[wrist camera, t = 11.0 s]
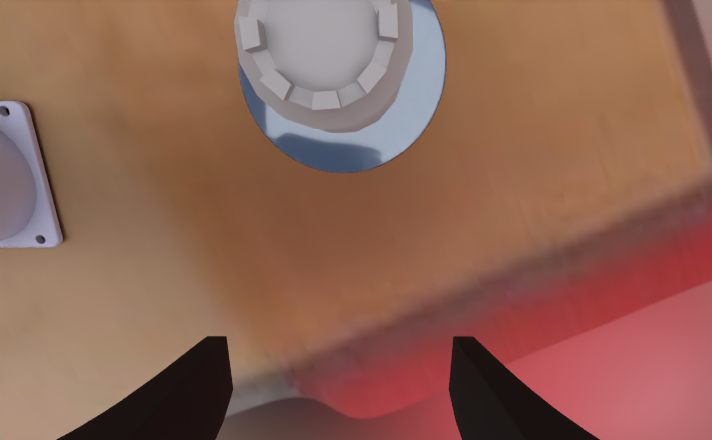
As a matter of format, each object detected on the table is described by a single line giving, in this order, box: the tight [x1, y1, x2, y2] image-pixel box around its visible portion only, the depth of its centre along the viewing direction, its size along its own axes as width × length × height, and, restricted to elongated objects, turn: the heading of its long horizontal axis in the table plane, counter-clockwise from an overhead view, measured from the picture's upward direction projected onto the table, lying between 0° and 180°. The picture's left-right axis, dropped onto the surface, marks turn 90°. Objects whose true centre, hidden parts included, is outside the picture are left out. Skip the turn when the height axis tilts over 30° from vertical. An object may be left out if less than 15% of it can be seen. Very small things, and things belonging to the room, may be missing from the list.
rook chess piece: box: [234, 0, 413, 133], centre depth 10 cm, size 4×4×8 cm
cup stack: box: [238, 0, 446, 173], centre depth 16 cm, size 9×9×6 cm
